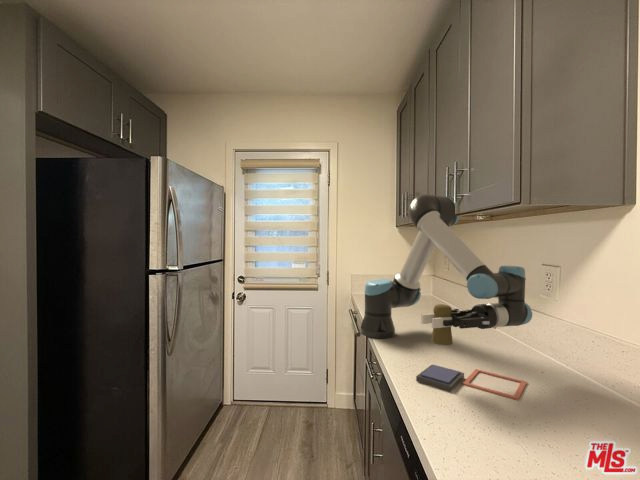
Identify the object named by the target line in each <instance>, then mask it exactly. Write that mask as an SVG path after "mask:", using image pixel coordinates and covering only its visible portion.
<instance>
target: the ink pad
mask: <svg viewBox="0 0 640 480" xmlns="http://www.w3.org/2000/svg"><path fill="white" fill-rule="evenodd" d="M464 379H465V372H462V371H460V370H457V369H456V370H454V369H451V368H448V367H443V366H440V365H436V364H431V365H429V366H427V367H426V368H425V369H424V370H423V371H421V372H420V373H418V374H417V375H416V377H415V382H418V383H421V384H425V385H426V386H431V387H435V388H437V389H441V390H444V391H447V392H450V393H451V392H452V391H453V390H454V389H455V388H456V387H457V386H458V385H459V384H460V383H461V382H462V381H464Z"/></svg>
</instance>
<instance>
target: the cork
mask: <svg viewBox="0 0 640 480" xmlns="http://www.w3.org/2000/svg"><path fill="white" fill-rule="evenodd" d="M452 310H453V309H452V307H451V306H450V305H447V304H441V303H440V304H436V305H434V307H433V314H435V318H441V317H450V316H451V314H452ZM430 342H432V343H433V344H437V345H442V346H449V345H450V346H451V345H453V343H454V342H453V335H452V327H442V328H432V334H431V341H430Z"/></svg>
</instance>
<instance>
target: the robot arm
mask: <svg viewBox="0 0 640 480" xmlns="http://www.w3.org/2000/svg"><path fill="white" fill-rule="evenodd" d="M451 198H452V197H450V198H449V196H446V195H443V196H442V195H433V194H420V195H417V196H416V197H415V198H414V199H412V201H410V204H409V206H408V216H409V220H410V222H411V223H412V225H414V227H415V228H416V229H417V230H418V233H417V234H416V236H415V239H414V241H413V244H412V245H411V248H410V250H409V253H408V255H407V257H406V260H405V262H404V264H403V266H402V269H401V271H400V272H398V273H396V274H395V276H394V278H393V280H391V279H389V278H380V279H379V278H376V279H372V280H368V281H367V282H366V283H365V284H364V285H365V287H364V315H363V318H362V321H361V324H360V329H359V330H360V331H359V332H360V334H361V335H362V336H364V337H369V338H372V339H373V338H374V339H390V338H393V337H394V336H396V328H395V324H394V321H393V318H392V309H396V308H408V307H411V306H414V305H415V304H417V303H418V302H419V300H420V299H421V296H422V293H421V282H420V281H419V280H420V279H421V277H422V275H423V273H424V271H425V268H426V266H427V264H428V262H429V260H430V257H431V256H432V254H433V252H434V250H435V247H436V248H437V249H438V250H439V251H440V252H441V253H442V254H443V256H444V257H445V258H446V259H447V260H448V261H449V263H451V264H452V265H453V267H454V268H455V269H456V270H457V272H459V273H460V275H461V276H462V277H463V278H464V279H465V280H466V288H467V290H468V291H467V292H468V293H469V294H470V295H471V296H472V297H473V298H475V299H479V300H480V299H481V300H489V299H495V298H498V299H497V300H498V301H497V302H494V303H492V302H491V303H481V304H475V305H474V306H473V307H471V309H465V310H460V308H454V309H452V314H451V316H450V317H441V318H435V314H434V313H424V314H423V313H422V314H421V319H420V320H421V325H427V324H431V328H432V329H433V328H442V327H451V328H452V327H453V328H458V327H459V329H461V330H463V329H473V328H478V329H481V330H486V329H492V328H493V330H494V329H495V330H496V329H497V328H505V327H519V326H523V325H525V324H528V323H529V322H531V320H532V319H533V311H532V309H531V306H530V305H529V304H528V303H526V301H525V297H526V281H527V278H526V270H525V268H524V267H523V266H516V265H500V266H499V267H498V272H493V271H492V270H491V269H490V268H489V267H488V266H487V265H486V264H485V263H484V262H483V261H482V260H481V259H480V258H479V257H478V256H477V255H476V254H475V253H474V251H472V250H471V249H470V247H469V246H468V245H467V244H466V243H465V242H464V241H463V240H462V239H461V237H459V236H458V235H457V234H456V233H455V232H454V231H453V230H452V229H451V228H450V227H451V226H454V225H456V224H457V223H458V222H459V220H460V218H461V215H460V216H456V215H455V204H454V202H453V201H452V199H451Z"/></svg>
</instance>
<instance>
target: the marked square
mask: <svg viewBox="0 0 640 480" xmlns="http://www.w3.org/2000/svg"><path fill="white" fill-rule="evenodd" d="M479 373H481V374H484V375H488V376H492V377H497V378H500V379H505V380H509V381H512V382H515V383H519V386H518V387H517V389H516V391H515V393H514V395H512V394H509V393H506V392H502V391H498V390H495V389H491V388H487V387H483V386H480V385H476V384H473V383H471V382H472V381H473V379H474V378H475V377H476V376H477V375H479ZM471 380H472V381H471ZM470 381H471V382H470ZM527 383H528V382H527V381H526V380H522V379H518V378H513V377H510V376H506V375H501V374H499V373H494V372H489V371H487V370H482V369H478V368H475V369H474V370H473V371H472V372H471V374H470V375H468V377H467V378H466V379H465V380H463V382H462V385H463V386H467V387H470V388H473V389H477V390H481V391H484V392H488V393H490V394H494V395H497V396H501V397H505V398H509V399H512V400H515V401H519V399H520V398H521V396H522V394H523V392H524V389H525V387H526V385H527Z"/></svg>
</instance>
